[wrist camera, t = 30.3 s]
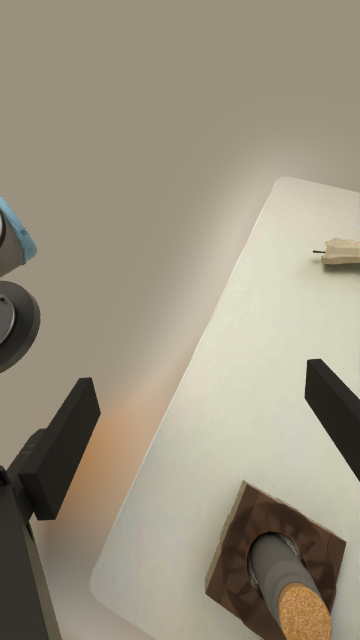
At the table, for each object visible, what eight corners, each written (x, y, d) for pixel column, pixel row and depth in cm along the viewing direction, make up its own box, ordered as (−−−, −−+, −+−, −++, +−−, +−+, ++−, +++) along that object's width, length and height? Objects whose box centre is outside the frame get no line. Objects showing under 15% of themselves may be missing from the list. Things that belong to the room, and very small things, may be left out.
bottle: (290, 588, 37) (339, 675, 24) (247, 575, 38) (270, 652, 25) (292, 537, 39) (338, 589, 26) (251, 526, 40) (275, 571, 27)
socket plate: (203, 579, 38) (202, 594, 35) (242, 477, 43) (245, 481, 39) (304, 652, 35) (315, 677, 31) (335, 532, 39) (348, 541, 36)
